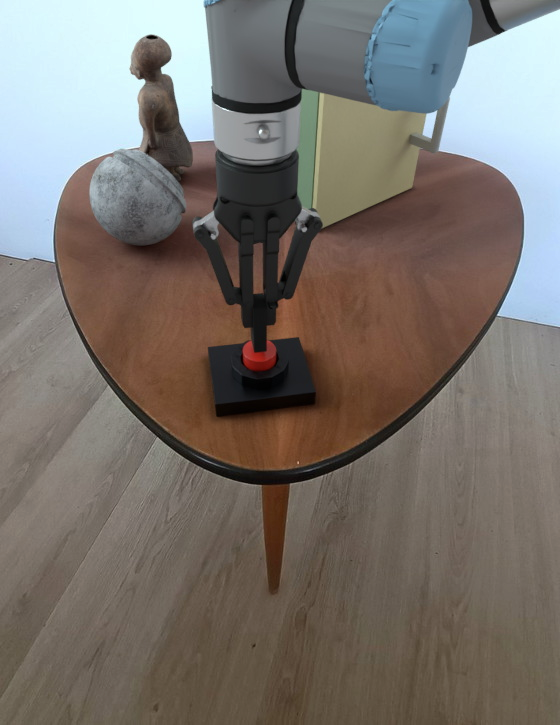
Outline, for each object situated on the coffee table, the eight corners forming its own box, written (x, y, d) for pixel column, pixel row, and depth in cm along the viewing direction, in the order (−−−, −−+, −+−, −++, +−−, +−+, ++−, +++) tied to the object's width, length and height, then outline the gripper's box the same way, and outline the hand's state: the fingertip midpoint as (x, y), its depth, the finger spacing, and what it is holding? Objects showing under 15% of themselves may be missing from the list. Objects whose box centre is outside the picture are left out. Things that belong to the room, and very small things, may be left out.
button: (273, 347, 69) (273, 336, 68) (278, 369, 66) (278, 359, 65) (241, 351, 68) (240, 340, 67) (245, 373, 66) (245, 363, 64)
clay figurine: (153, 162, 114) (132, 24, 97) (200, 164, 114) (188, 26, 96) (135, 191, 105) (109, 44, 87) (187, 195, 104) (171, 47, 87)
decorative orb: (206, 238, 94) (198, 151, 83) (137, 274, 86) (119, 183, 75) (151, 208, 101) (137, 124, 90) (82, 239, 93) (59, 151, 82)
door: (436, 199, 105) (467, 61, 88) (338, 246, 92) (354, 96, 76) (408, 185, 108) (433, 51, 92) (310, 229, 96) (320, 83, 79)
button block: (298, 349, 74) (299, 326, 71) (315, 404, 67) (317, 381, 64) (208, 359, 72) (206, 336, 70) (216, 416, 65) (214, 393, 63)
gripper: (185, 171, 45) (206, 372, 62) (338, 162, 47) (319, 360, 64) (180, 135, 51) (201, 329, 67) (318, 128, 53) (305, 318, 69)
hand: (258, 344), depth 65 cm, fingers closed
